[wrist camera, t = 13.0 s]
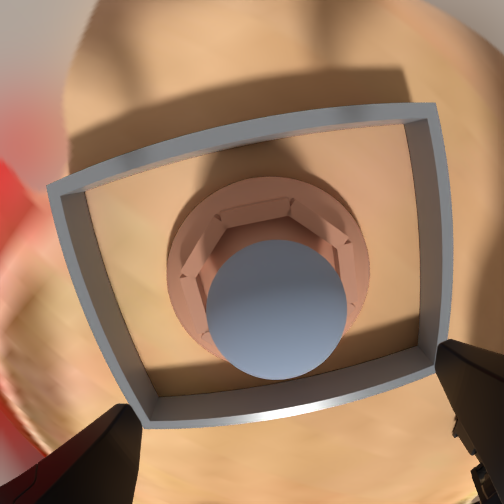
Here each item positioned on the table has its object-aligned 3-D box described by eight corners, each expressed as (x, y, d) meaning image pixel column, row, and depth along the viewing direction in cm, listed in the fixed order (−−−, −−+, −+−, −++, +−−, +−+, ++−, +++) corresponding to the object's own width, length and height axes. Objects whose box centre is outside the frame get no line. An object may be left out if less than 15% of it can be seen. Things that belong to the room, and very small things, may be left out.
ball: (317, 217, 15) (363, 244, 9) (332, 321, 16) (368, 387, 10) (200, 242, 15) (174, 284, 9) (228, 343, 16) (222, 418, 10)
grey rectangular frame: (412, 110, 14) (435, 102, 11) (425, 350, 18) (442, 370, 15) (71, 182, 14) (46, 185, 12) (153, 405, 19) (144, 428, 16)
